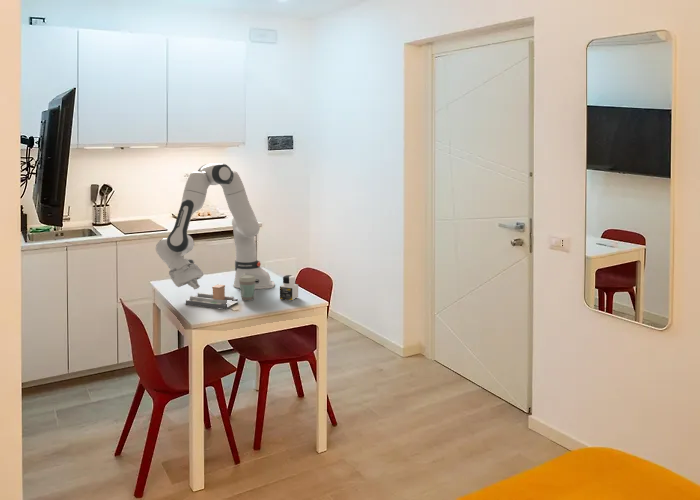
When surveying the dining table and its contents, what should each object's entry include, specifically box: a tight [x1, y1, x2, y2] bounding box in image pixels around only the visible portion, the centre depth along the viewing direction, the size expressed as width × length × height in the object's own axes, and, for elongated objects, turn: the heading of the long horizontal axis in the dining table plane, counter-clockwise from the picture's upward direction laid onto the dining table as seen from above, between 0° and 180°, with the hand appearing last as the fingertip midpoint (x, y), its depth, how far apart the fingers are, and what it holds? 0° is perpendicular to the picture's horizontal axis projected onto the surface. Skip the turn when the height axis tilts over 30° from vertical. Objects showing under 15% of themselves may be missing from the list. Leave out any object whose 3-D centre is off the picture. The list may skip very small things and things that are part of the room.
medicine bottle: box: [279, 274, 299, 301], centre depth 318 cm, size 7×7×12 cm
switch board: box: [185, 292, 239, 310], centre depth 308 cm, size 22×12×4 cm, turn 70°
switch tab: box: [211, 283, 226, 300], centre depth 306 cm, size 4×5×7 cm
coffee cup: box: [239, 275, 256, 301], centre depth 315 cm, size 8×8×12 cm
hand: (197, 288), depth 309 cm, fingers closed
